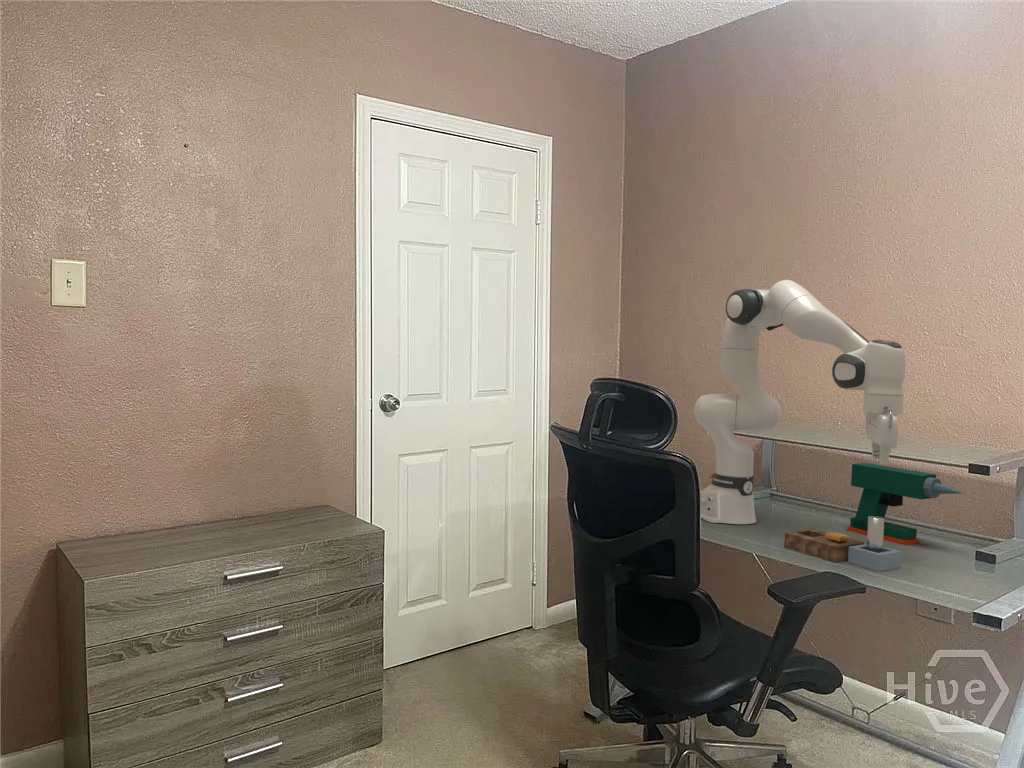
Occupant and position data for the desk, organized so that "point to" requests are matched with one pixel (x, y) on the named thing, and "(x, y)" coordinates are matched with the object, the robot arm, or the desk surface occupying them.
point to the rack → (874, 558)
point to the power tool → (891, 496)
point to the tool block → (819, 545)
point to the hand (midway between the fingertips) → (879, 461)
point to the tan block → (837, 537)
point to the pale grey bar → (875, 534)
